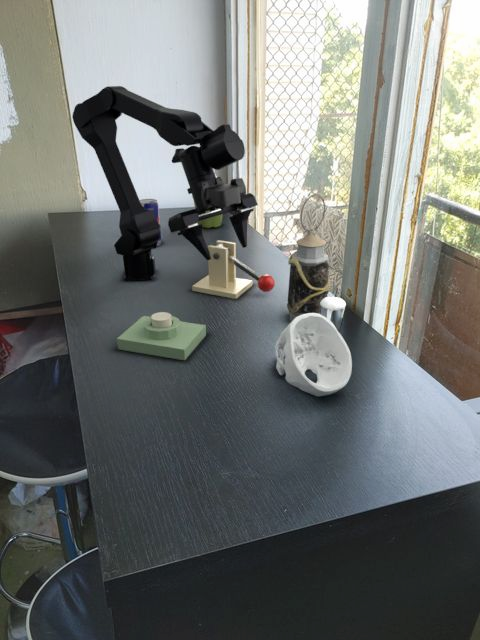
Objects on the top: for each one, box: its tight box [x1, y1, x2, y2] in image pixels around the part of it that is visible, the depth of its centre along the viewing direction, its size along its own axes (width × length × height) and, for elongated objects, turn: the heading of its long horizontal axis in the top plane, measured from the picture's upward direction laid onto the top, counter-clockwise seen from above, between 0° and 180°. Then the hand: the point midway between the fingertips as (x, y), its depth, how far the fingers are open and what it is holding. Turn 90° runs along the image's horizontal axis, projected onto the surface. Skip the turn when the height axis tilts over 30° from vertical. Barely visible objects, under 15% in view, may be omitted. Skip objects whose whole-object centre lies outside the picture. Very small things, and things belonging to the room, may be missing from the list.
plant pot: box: [191, 194, 224, 229], centre depth 162 cm, size 12×12×11 cm
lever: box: [218, 243, 276, 293], centre depth 115 cm, size 15×4×4 cm, turn 68°
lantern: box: [286, 193, 331, 322], centre depth 100 cm, size 9×8×25 cm
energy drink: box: [139, 198, 162, 247], centre depth 145 cm, size 5×5×12 cm
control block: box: [116, 315, 207, 361], centre depth 96 cm, size 13×10×4 cm
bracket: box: [191, 239, 253, 300], centre depth 118 cm, size 11×9×10 cm
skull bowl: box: [274, 313, 353, 398], centre depth 85 cm, size 10×14×12 cm
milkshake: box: [320, 287, 347, 334], centre depth 95 cm, size 4×5×10 cm
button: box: [150, 311, 172, 328], centre depth 94 cm, size 4×4×2 cm
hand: (227, 253), depth 107 cm, fingers open, 9 cm apart
